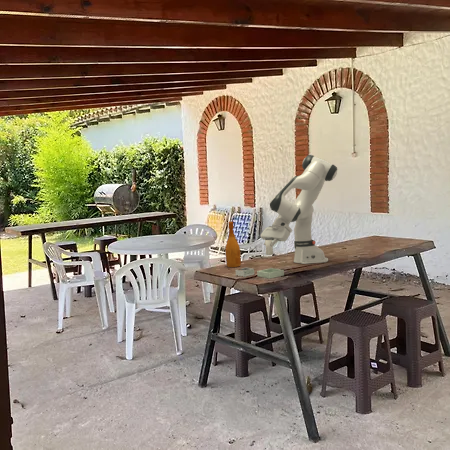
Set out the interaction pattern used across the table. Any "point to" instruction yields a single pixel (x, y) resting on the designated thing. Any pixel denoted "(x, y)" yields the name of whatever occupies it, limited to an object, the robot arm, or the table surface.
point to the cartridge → (268, 246)
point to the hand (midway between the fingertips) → (268, 245)
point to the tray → (270, 273)
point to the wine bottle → (232, 249)
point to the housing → (245, 272)
